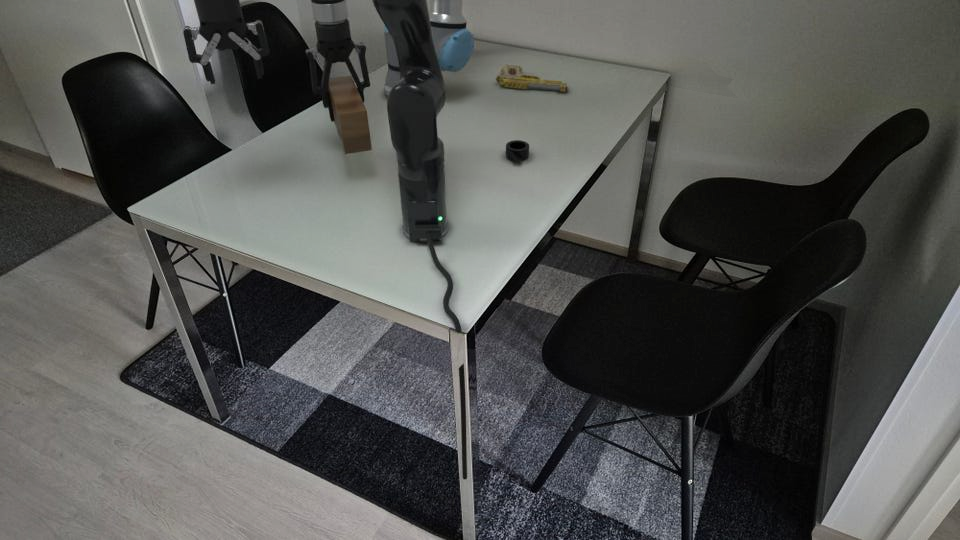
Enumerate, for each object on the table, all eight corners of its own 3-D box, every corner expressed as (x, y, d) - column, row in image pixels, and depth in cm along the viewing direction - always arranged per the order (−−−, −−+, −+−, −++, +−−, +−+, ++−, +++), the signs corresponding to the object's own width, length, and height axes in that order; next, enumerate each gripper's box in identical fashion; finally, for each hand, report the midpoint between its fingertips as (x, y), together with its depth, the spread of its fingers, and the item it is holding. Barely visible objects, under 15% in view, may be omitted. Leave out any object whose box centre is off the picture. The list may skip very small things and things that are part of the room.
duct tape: (493, 159, 157) (493, 148, 155) (515, 144, 163) (515, 134, 161) (519, 168, 153) (519, 157, 151) (540, 152, 160) (541, 142, 158)
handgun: (571, 77, 201) (567, 95, 190) (501, 70, 205) (493, 87, 193) (572, 69, 200) (567, 86, 188) (501, 63, 203) (493, 79, 191)
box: (372, 150, 141) (366, 110, 135) (345, 154, 140) (338, 114, 134) (356, 112, 157) (351, 75, 151) (332, 116, 156) (325, 78, 150)
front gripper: (255, -18, 115) (273, 69, 125) (173, -12, 112) (198, 77, 122) (256, -8, 110) (275, 83, 119) (169, -1, 106) (196, 91, 116)
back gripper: (371, 10, 144) (381, 105, 159) (286, 19, 140) (304, 116, 154) (377, 20, 139) (387, 118, 153) (288, 29, 134) (308, 129, 148)
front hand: (236, 80), depth 121 cm, fingers open, 8 cm apart
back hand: (346, 117), depth 153 cm, fingers closed on box, 6 cm apart
